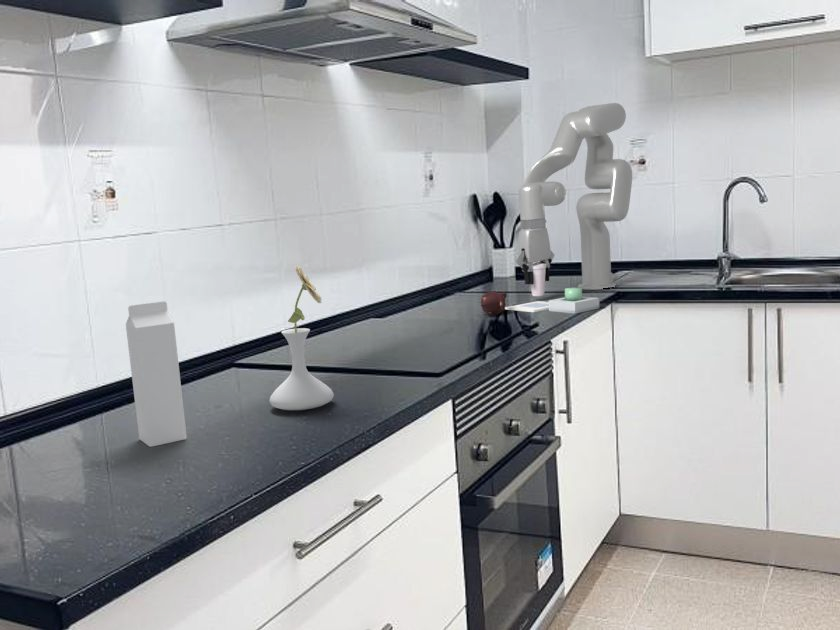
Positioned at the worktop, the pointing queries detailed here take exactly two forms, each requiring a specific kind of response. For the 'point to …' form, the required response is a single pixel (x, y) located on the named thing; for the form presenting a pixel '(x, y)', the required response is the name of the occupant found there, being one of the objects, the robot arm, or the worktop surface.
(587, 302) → the grey square block
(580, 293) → the button
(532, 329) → the worktop surface
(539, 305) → the paper pad
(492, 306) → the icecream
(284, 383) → the flower in vase
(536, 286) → the smoothie
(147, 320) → the milk
